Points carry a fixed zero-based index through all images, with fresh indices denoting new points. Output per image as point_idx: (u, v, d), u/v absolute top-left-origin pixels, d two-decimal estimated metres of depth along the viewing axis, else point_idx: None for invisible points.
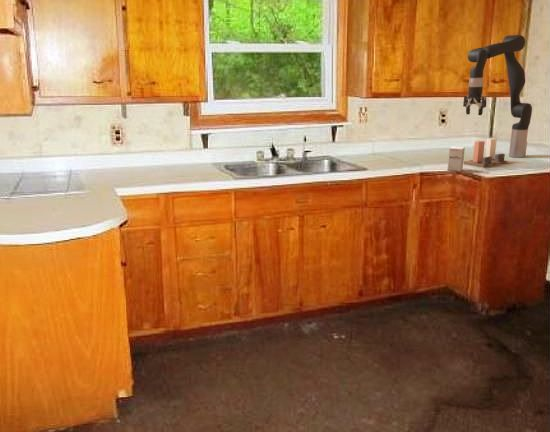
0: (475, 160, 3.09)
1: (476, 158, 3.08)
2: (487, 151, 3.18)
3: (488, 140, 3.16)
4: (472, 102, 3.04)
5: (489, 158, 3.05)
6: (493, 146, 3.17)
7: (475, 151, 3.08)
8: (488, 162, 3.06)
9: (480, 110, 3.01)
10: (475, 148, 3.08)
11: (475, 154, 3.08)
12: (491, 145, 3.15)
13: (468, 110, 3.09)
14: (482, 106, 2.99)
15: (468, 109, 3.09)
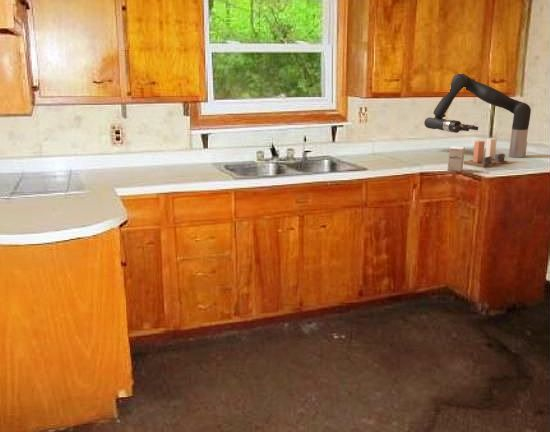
0: (475, 160, 3.09)
1: (476, 158, 3.08)
2: (487, 151, 3.18)
3: (488, 140, 3.16)
4: None
5: (489, 158, 3.05)
6: (493, 146, 3.17)
7: (475, 151, 3.08)
8: (488, 162, 3.06)
9: (464, 130, 3.26)
10: (475, 148, 3.08)
11: (475, 154, 3.08)
12: (491, 145, 3.15)
13: (474, 128, 3.30)
14: (458, 131, 3.28)
15: (473, 128, 3.31)
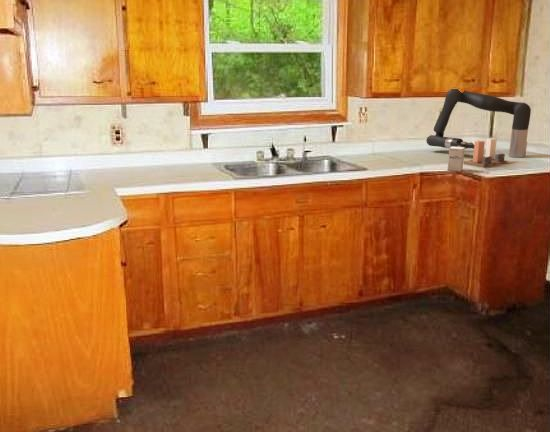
0: (475, 160, 3.09)
1: (476, 158, 3.08)
2: (487, 151, 3.18)
3: (488, 140, 3.16)
4: None
5: (489, 158, 3.05)
6: (493, 146, 3.17)
7: (475, 151, 3.08)
8: (488, 162, 3.06)
9: (471, 147, 3.29)
10: (475, 148, 3.08)
11: (475, 154, 3.08)
12: (491, 145, 3.15)
13: None
14: (466, 148, 3.30)
15: None
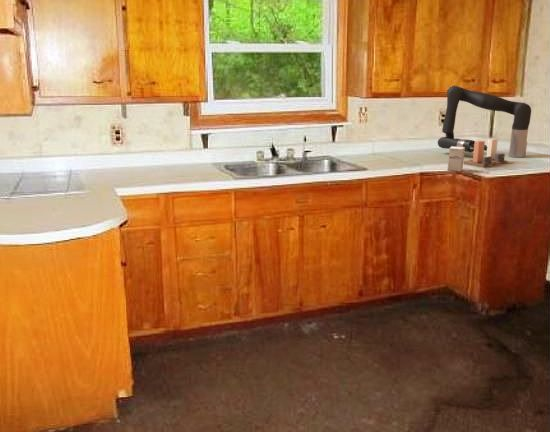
0: (475, 160, 3.09)
1: (476, 158, 3.08)
2: (488, 151, 3.17)
3: (489, 140, 3.15)
4: None
5: (489, 158, 3.05)
6: (495, 146, 3.16)
7: (475, 151, 3.08)
8: (488, 162, 3.06)
9: (484, 149, 3.21)
10: (475, 148, 3.08)
11: (475, 154, 3.08)
12: (492, 145, 3.15)
13: (486, 149, 3.21)
14: None
15: None
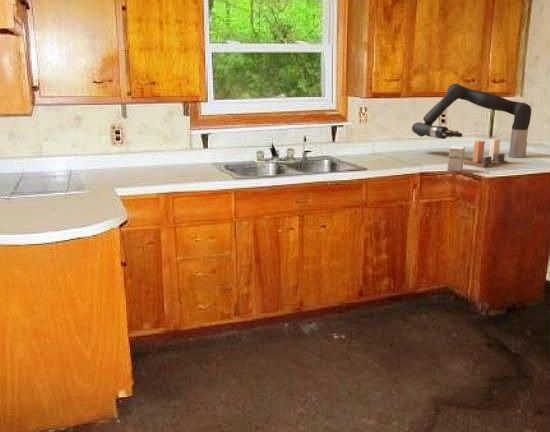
0: (475, 160, 3.09)
1: (476, 158, 3.08)
2: (490, 152, 3.16)
3: (492, 140, 3.14)
4: None
5: (489, 158, 3.05)
6: (497, 146, 3.15)
7: (475, 151, 3.08)
8: (488, 162, 3.06)
9: (456, 136, 3.20)
10: (475, 148, 3.08)
11: (475, 154, 3.08)
12: (495, 146, 3.13)
13: None
14: (451, 136, 3.21)
15: None
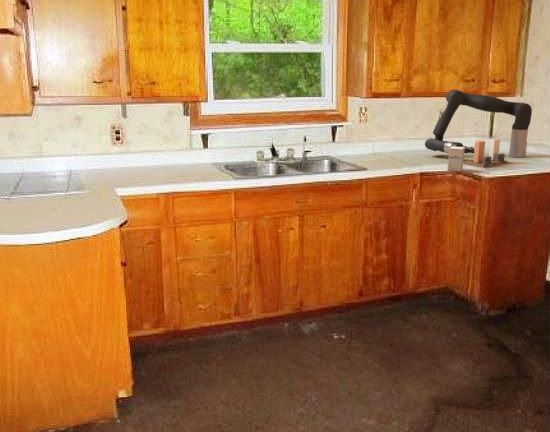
0: (475, 160, 3.09)
1: (476, 158, 3.08)
2: (490, 152, 3.16)
3: (492, 140, 3.14)
4: None
5: (489, 158, 3.05)
6: (497, 146, 3.15)
7: (475, 151, 3.08)
8: (488, 162, 3.06)
9: (471, 152, 3.12)
10: (475, 148, 3.08)
11: (475, 154, 3.08)
12: (495, 146, 3.13)
13: (473, 151, 3.12)
14: (466, 153, 3.13)
15: None
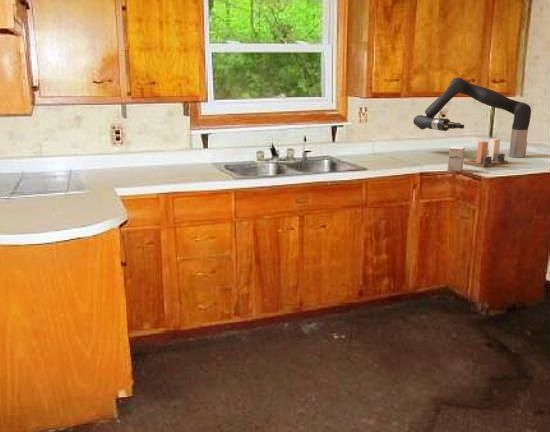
0: (478, 161, 3.07)
1: (479, 159, 3.06)
2: (490, 152, 3.16)
3: (492, 140, 3.14)
4: None
5: (489, 158, 3.05)
6: (497, 146, 3.15)
7: (478, 152, 3.06)
8: (488, 162, 3.06)
9: (458, 127, 3.21)
10: (478, 149, 3.06)
11: (478, 155, 3.07)
12: (495, 146, 3.13)
13: None
14: (453, 128, 3.22)
15: None
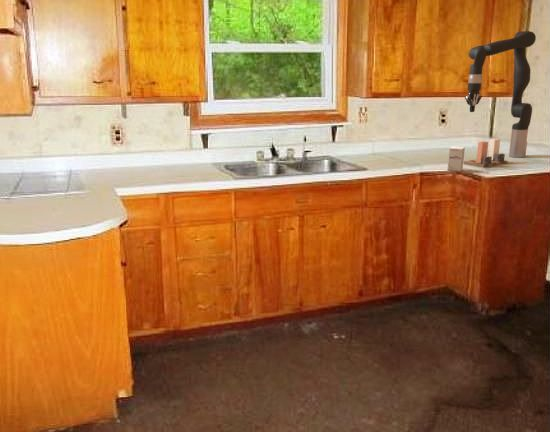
0: (478, 161, 3.07)
1: (479, 159, 3.06)
2: (490, 152, 3.16)
3: (492, 140, 3.14)
4: None
5: (489, 158, 3.05)
6: (497, 146, 3.15)
7: (478, 152, 3.06)
8: (488, 162, 3.06)
9: (470, 107, 3.19)
10: (478, 149, 3.06)
11: (478, 155, 3.07)
12: (495, 146, 3.13)
13: None
14: (467, 103, 3.18)
15: None
